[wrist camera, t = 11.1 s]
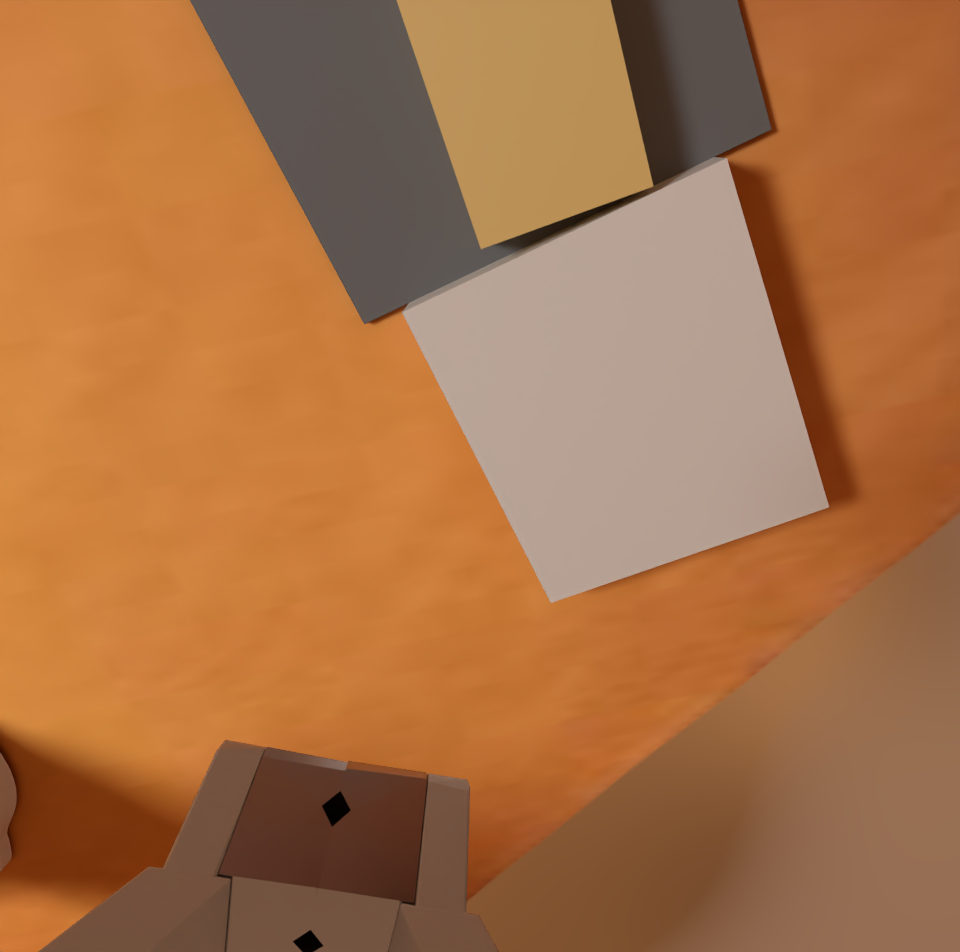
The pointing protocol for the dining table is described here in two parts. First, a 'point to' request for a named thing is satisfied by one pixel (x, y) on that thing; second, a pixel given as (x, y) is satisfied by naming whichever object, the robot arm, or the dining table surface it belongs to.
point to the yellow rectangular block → (529, 107)
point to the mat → (416, 133)
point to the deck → (626, 385)
